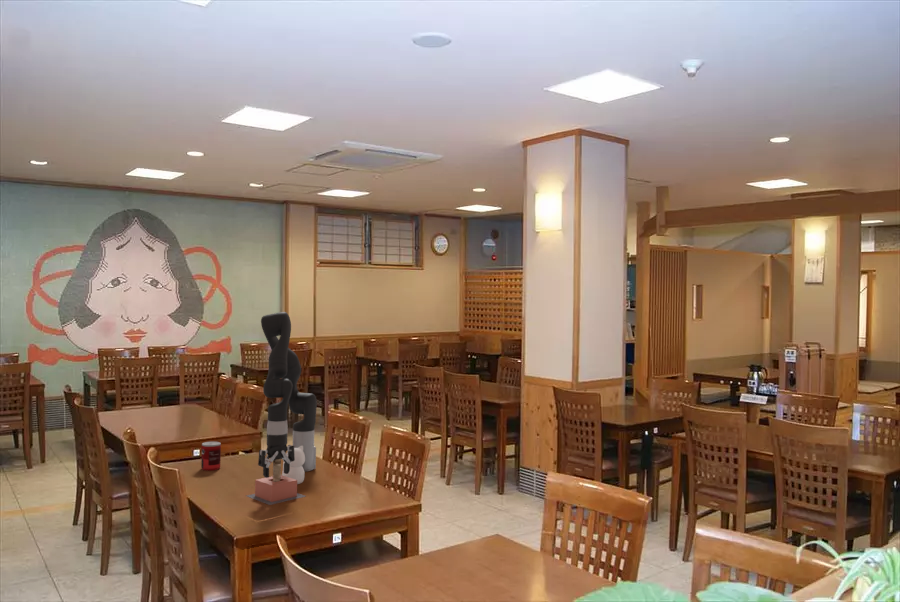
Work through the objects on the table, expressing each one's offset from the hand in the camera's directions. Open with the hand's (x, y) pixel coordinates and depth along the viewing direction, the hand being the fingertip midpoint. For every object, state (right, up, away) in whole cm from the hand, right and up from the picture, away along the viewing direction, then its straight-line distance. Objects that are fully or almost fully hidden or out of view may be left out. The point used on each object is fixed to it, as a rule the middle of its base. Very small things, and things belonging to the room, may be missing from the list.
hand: (276, 475), depth 261 cm
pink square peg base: (0, -8, 0) cm, 8 cm away
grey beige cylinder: (0, -8, 0) cm, 8 cm away
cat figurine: (+1, -8, +21) cm, 22 cm away
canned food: (-39, -8, +41) cm, 57 cm away
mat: (0, -8, 0) cm, 8 cm away
